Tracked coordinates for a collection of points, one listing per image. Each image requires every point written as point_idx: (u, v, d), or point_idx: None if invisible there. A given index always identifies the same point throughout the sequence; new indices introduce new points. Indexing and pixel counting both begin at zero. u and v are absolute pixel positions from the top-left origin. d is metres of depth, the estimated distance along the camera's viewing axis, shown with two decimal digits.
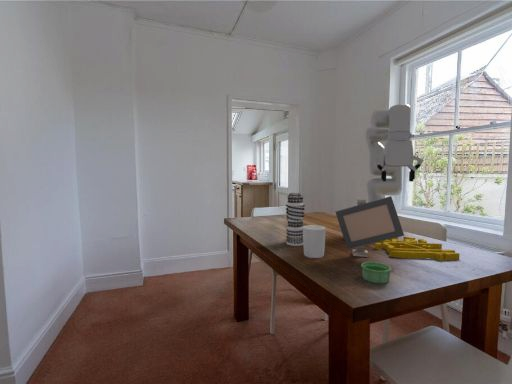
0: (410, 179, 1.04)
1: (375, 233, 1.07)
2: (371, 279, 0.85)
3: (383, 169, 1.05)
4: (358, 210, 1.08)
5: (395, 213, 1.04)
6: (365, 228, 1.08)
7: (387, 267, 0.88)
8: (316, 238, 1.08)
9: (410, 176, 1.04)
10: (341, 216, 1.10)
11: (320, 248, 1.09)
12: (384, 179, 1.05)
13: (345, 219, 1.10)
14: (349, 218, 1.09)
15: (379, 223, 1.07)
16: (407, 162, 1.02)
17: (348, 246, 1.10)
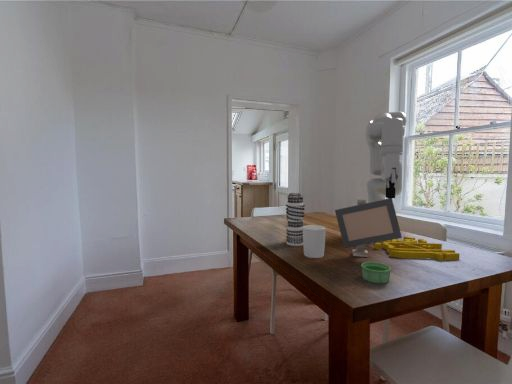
0: None
1: (373, 233, 1.07)
2: (371, 279, 0.85)
3: (394, 186, 1.03)
4: (358, 210, 1.08)
5: (394, 215, 1.05)
6: (363, 228, 1.08)
7: (387, 267, 0.88)
8: (316, 238, 1.08)
9: None
10: (340, 215, 1.10)
11: (320, 248, 1.09)
12: None
13: (344, 218, 1.10)
14: (348, 217, 1.10)
15: (378, 224, 1.07)
16: None
17: (346, 245, 1.10)
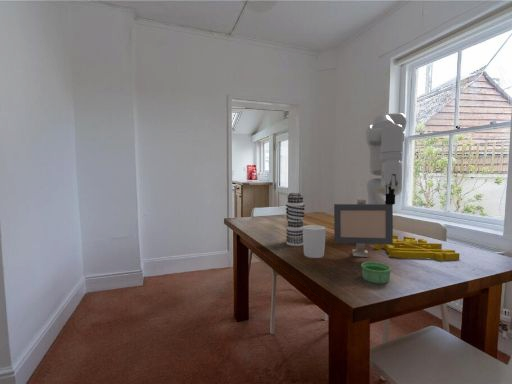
0: None
1: (366, 234, 1.08)
2: (371, 279, 0.85)
3: (394, 192, 1.04)
4: (356, 209, 1.08)
5: (391, 221, 1.05)
6: (358, 228, 1.09)
7: (387, 267, 0.88)
8: (316, 238, 1.08)
9: None
10: (338, 210, 1.10)
11: (320, 248, 1.09)
12: None
13: (341, 214, 1.10)
14: (345, 214, 1.10)
15: (373, 227, 1.07)
16: None
17: (336, 240, 1.11)
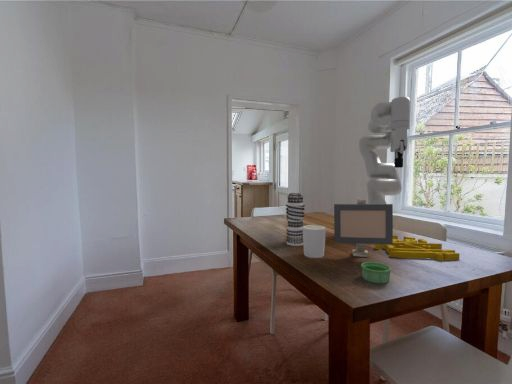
0: None
1: (365, 234, 1.08)
2: (371, 280, 0.85)
3: (402, 156, 1.19)
4: (356, 209, 1.08)
5: (391, 221, 1.05)
6: (358, 228, 1.09)
7: (387, 267, 0.88)
8: (316, 238, 1.08)
9: None
10: (338, 210, 1.10)
11: (320, 248, 1.09)
12: None
13: (341, 214, 1.10)
14: (345, 214, 1.10)
15: (373, 227, 1.07)
16: None
17: (336, 240, 1.11)
